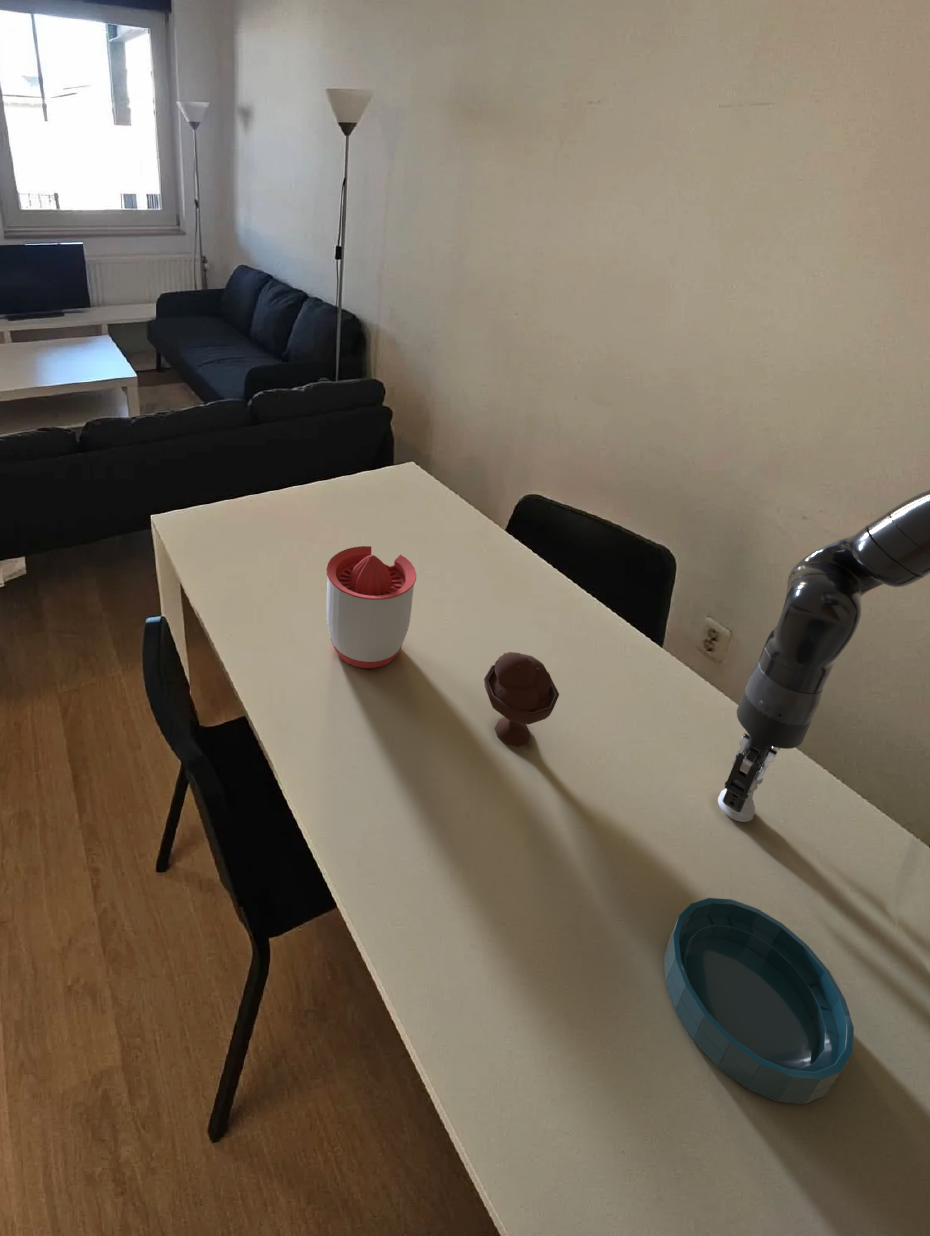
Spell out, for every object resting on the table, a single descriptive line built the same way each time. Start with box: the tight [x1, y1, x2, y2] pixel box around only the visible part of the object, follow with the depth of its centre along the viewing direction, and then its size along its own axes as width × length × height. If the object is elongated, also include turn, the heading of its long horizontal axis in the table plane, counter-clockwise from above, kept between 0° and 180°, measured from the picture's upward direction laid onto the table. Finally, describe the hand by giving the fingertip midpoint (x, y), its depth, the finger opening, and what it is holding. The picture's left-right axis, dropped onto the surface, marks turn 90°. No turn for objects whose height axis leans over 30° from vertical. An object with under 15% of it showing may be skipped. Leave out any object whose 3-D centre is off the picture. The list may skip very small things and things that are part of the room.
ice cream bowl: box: [483, 651, 560, 747], centre depth 100 cm, size 11×11×15 cm
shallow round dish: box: [663, 897, 855, 1105], centre depth 69 cm, size 16×16×5 cm
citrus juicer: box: [325, 545, 417, 669], centre depth 116 cm, size 16×17×20 cm
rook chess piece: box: [717, 778, 764, 823], centre depth 90 cm, size 4×4×8 cm
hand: (742, 788), depth 90 cm, fingers open, 8 cm apart
